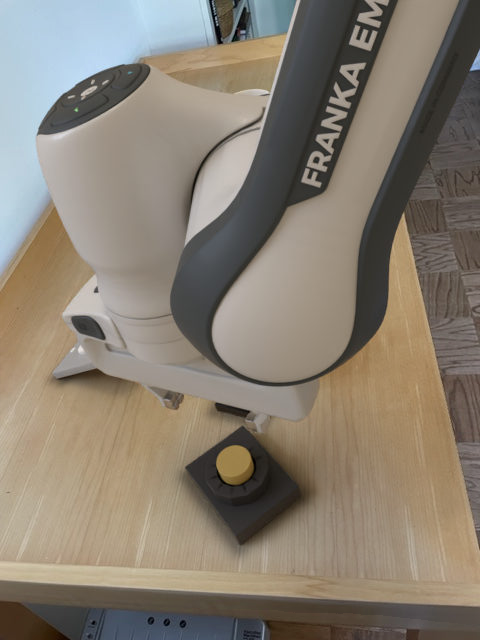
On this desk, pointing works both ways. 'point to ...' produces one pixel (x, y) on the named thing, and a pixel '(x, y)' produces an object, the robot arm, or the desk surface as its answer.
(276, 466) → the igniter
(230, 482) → the button
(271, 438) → the desk surface
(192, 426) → the desk surface
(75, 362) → the light switch
